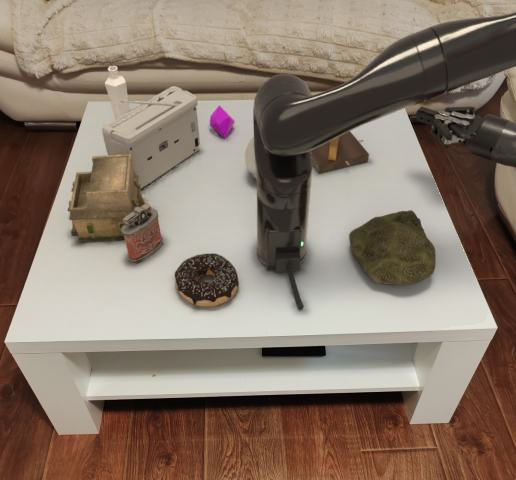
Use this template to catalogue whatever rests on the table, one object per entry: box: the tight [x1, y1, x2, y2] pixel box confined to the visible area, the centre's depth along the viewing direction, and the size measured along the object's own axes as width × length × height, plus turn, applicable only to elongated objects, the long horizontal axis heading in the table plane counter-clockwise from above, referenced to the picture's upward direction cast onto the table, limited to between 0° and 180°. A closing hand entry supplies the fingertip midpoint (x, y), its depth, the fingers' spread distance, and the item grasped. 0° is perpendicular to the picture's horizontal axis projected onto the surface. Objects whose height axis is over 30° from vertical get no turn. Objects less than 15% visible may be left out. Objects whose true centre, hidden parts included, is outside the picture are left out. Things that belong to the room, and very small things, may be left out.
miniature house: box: [67, 154, 147, 244], centre depth 110 cm, size 15×14×11 cm
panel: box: [310, 131, 370, 174], centre depth 127 cm, size 14×14×2 cm
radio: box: [101, 85, 201, 190], centre depth 118 cm, size 21×8×20 cm, turn 141°
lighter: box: [121, 202, 164, 265], centre depth 105 cm, size 8×3×10 cm, turn 141°
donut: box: [174, 252, 240, 308], centre depth 102 cm, size 11×12×4 cm
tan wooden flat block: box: [328, 136, 341, 161], centre depth 123 cm, size 10×2×7 cm, turn 168°
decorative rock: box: [348, 209, 437, 286], centre depth 103 cm, size 15×16×10 cm
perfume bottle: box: [104, 65, 131, 119], centre depth 128 cm, size 5×4×15 cm
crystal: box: [209, 105, 235, 139], centre depth 132 cm, size 5×5×5 cm
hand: (417, 112), depth 112 cm, fingers closed
